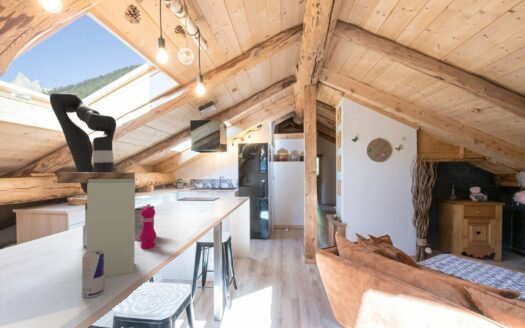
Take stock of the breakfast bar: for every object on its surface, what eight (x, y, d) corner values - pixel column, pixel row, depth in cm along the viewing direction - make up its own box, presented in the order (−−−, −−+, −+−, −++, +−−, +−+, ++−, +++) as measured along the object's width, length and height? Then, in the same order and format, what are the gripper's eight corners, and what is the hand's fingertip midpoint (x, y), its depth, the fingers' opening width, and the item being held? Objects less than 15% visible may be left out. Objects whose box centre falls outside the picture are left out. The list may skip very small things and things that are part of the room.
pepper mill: (159, 244, 125) (159, 202, 125) (151, 249, 118) (151, 205, 118) (144, 244, 125) (145, 202, 126) (136, 248, 118) (136, 204, 118)
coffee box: (142, 235, 141) (142, 205, 141) (154, 235, 141) (154, 205, 141) (133, 240, 132) (134, 208, 132) (146, 240, 132) (146, 208, 132)
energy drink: (107, 291, 79) (108, 251, 79) (91, 299, 74) (91, 257, 74) (94, 288, 80) (95, 249, 80) (77, 296, 75) (77, 255, 75)
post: (86, 279, 87) (87, 179, 87) (92, 268, 96) (92, 178, 96) (133, 272, 92) (133, 179, 92) (134, 262, 101) (135, 177, 102)
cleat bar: (56, 183, 86) (57, 172, 86) (60, 182, 89) (60, 172, 89) (134, 181, 95) (134, 172, 95) (134, 181, 99) (134, 172, 99)
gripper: (96, 161, 117) (98, 198, 117) (89, 161, 104) (91, 202, 104) (115, 161, 120) (117, 196, 120) (111, 161, 106) (112, 200, 107)
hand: (105, 199), depth 112 cm, fingers open, 8 cm apart
